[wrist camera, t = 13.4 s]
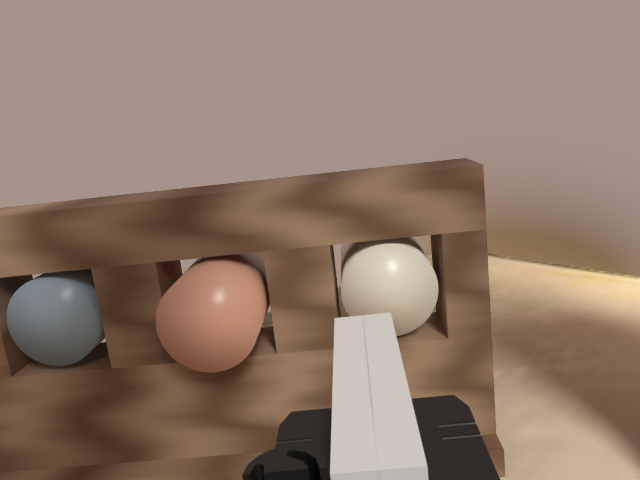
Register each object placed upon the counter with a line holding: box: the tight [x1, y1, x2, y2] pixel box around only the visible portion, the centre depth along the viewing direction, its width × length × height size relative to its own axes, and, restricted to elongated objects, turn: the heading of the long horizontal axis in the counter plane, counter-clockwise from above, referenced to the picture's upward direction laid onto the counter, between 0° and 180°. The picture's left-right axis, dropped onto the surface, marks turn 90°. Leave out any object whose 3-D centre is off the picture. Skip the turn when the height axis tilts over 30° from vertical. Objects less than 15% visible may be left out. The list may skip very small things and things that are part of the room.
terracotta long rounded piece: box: [156, 252, 270, 372], centre depth 32 cm, size 5×9×5 cm, turn 178°
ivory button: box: [341, 237, 438, 336], centre depth 34 cm, size 5×9×5 cm, turn 178°
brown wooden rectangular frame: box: [0, 158, 505, 480], centre depth 32 cm, size 28×7×16 cm, turn 88°
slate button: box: [6, 269, 105, 366], centre depth 35 cm, size 5×9×5 cm, turn 178°
